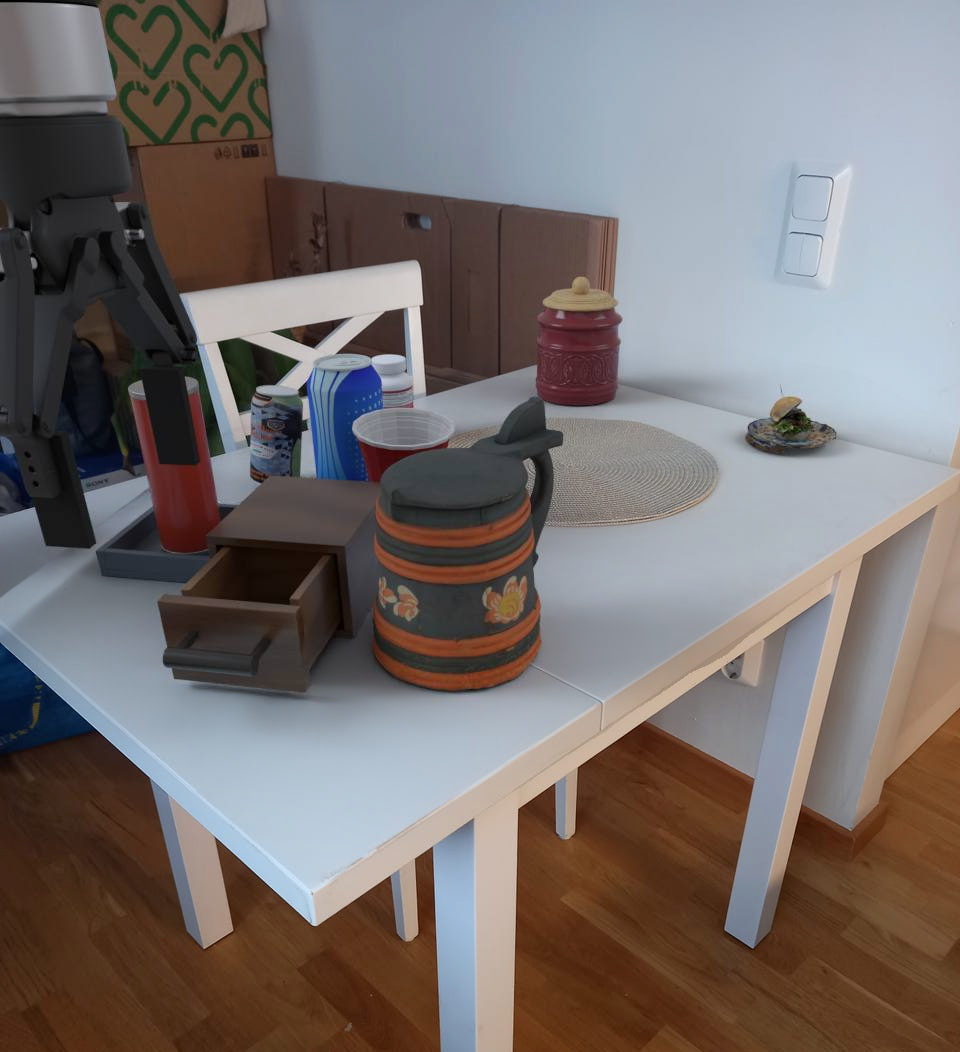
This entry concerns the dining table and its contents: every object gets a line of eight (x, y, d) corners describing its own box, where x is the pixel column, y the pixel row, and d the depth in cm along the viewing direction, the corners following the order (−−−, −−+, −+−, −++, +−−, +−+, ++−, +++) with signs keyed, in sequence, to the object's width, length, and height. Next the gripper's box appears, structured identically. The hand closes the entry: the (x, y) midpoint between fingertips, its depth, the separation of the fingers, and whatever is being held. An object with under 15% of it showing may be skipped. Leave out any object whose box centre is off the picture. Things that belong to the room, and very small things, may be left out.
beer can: (360, 514, 106) (348, 374, 98) (304, 500, 110) (288, 364, 102) (402, 490, 112) (395, 357, 104) (348, 478, 116) (336, 348, 108)
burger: (782, 463, 119) (792, 405, 115) (726, 436, 128) (733, 382, 124) (855, 449, 123) (866, 393, 119) (795, 424, 132) (804, 371, 129)
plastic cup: (393, 557, 96) (385, 446, 90) (342, 523, 104) (332, 419, 98) (477, 531, 102) (475, 425, 96) (423, 501, 109) (418, 400, 103)
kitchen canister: (627, 404, 141) (636, 283, 132) (543, 409, 140) (547, 286, 131) (605, 382, 152) (612, 268, 143) (528, 385, 151) (530, 271, 142)
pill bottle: (371, 432, 132) (366, 353, 126) (414, 431, 132) (411, 352, 126) (370, 446, 126) (364, 365, 121) (415, 445, 127) (411, 363, 121)
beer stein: (477, 575, 93) (475, 375, 82) (601, 620, 85) (615, 405, 74) (338, 653, 80) (315, 429, 70) (468, 715, 72) (463, 471, 62)
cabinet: (353, 638, 82) (344, 546, 78) (221, 626, 84) (205, 535, 80) (397, 566, 95) (391, 482, 90) (281, 557, 97) (270, 475, 92)
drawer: (286, 724, 70) (273, 642, 66) (147, 709, 72) (128, 628, 68) (357, 611, 85) (350, 539, 81) (241, 601, 87) (229, 530, 83)
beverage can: (243, 484, 115) (228, 388, 108) (294, 470, 119) (283, 377, 113) (267, 499, 111) (254, 399, 104) (320, 484, 115) (310, 387, 108)
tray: (101, 575, 94) (95, 550, 92) (165, 522, 105) (161, 499, 104) (226, 586, 91) (222, 561, 90) (278, 530, 103) (275, 507, 101)
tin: (150, 556, 96) (114, 392, 87) (179, 530, 101) (148, 374, 92) (208, 560, 94) (178, 395, 86) (234, 534, 100) (209, 377, 91)
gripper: (102, 109, 58) (167, 435, 69) (-221, 118, 37) (-55, 586, 48) (213, 106, 57) (262, 438, 68) (-56, 114, 36) (76, 595, 47)
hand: (131, 500), depth 58 cm, fingers open, 13 cm apart
